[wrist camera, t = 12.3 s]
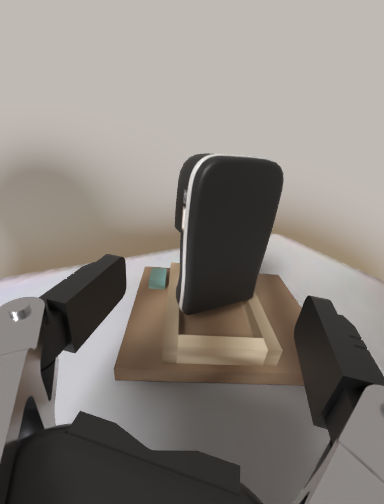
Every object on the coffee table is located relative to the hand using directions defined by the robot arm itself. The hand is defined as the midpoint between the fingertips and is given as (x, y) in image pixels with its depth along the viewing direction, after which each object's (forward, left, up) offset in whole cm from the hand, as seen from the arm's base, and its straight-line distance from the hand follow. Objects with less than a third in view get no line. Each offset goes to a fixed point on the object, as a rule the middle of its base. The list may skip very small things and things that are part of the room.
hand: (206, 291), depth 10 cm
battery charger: (-2, -8, -6) cm, 10 cm away
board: (-3, -8, -9) cm, 12 cm away
